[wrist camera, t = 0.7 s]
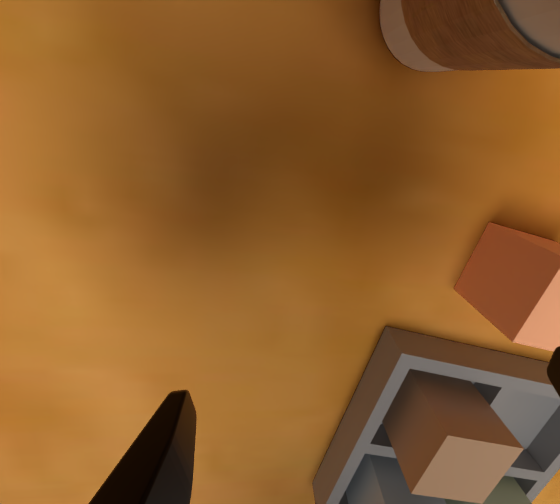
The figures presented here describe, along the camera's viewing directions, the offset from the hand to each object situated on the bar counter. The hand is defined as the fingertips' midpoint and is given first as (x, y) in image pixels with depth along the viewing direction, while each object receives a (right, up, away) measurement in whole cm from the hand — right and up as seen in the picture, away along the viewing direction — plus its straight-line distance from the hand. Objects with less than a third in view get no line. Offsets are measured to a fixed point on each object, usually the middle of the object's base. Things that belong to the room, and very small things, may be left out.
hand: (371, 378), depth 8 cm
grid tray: (+11, -12, +20) cm, 26 cm away
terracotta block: (+13, +2, +15) cm, 20 cm away
